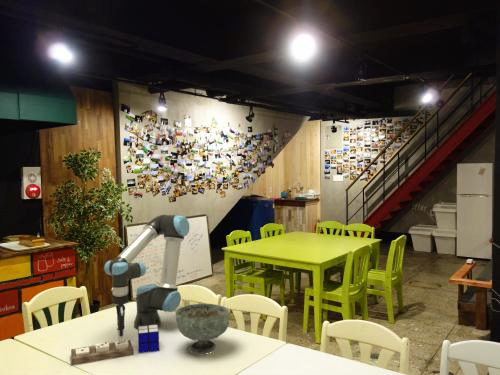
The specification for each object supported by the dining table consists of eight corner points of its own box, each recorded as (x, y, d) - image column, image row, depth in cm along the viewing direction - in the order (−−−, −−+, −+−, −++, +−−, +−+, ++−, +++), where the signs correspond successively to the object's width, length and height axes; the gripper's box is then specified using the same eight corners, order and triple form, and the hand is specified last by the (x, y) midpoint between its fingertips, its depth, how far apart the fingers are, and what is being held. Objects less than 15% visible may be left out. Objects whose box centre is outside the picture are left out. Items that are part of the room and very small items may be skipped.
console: (130, 345, 219) (130, 339, 219) (133, 354, 208) (133, 348, 208) (71, 355, 208) (71, 349, 208) (71, 365, 197) (71, 359, 197)
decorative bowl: (165, 355, 206) (166, 314, 206) (188, 336, 231) (189, 299, 230) (216, 364, 198) (218, 321, 198) (234, 343, 223) (236, 305, 222)
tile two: (127, 344, 216) (126, 338, 216) (128, 348, 210) (128, 342, 210) (114, 346, 213) (114, 340, 213) (115, 351, 208) (115, 345, 208)
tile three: (108, 347, 212) (108, 341, 212) (109, 351, 207) (109, 345, 207) (95, 349, 210) (95, 343, 210) (96, 354, 204) (96, 347, 204)
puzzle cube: (138, 353, 210) (138, 333, 209) (138, 345, 219) (137, 326, 219) (159, 351, 212) (158, 331, 212) (158, 343, 222) (157, 324, 222)
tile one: (89, 352, 209) (88, 346, 209) (89, 357, 203) (89, 351, 203) (75, 354, 206) (75, 348, 206) (75, 359, 201) (75, 353, 201)
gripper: (111, 292, 215) (111, 338, 216) (113, 298, 203) (114, 347, 204) (126, 290, 218) (127, 336, 219) (129, 297, 206) (130, 345, 207)
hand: (121, 341), depth 211 cm, fingers closed
